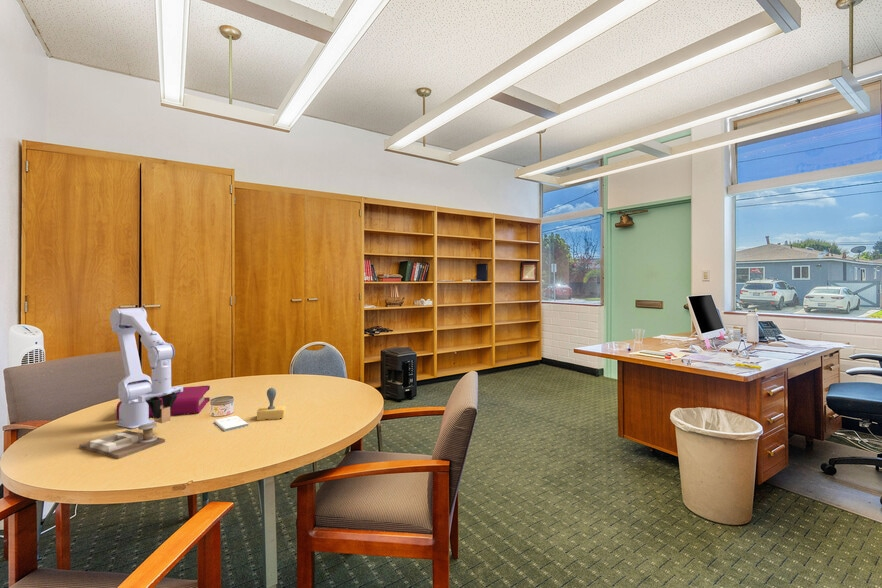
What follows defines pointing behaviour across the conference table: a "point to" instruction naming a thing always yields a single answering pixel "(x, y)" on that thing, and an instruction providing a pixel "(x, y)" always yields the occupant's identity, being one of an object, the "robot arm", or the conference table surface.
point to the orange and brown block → (163, 414)
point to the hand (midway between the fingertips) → (161, 416)
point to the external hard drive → (231, 423)
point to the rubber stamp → (271, 408)
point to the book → (184, 401)
